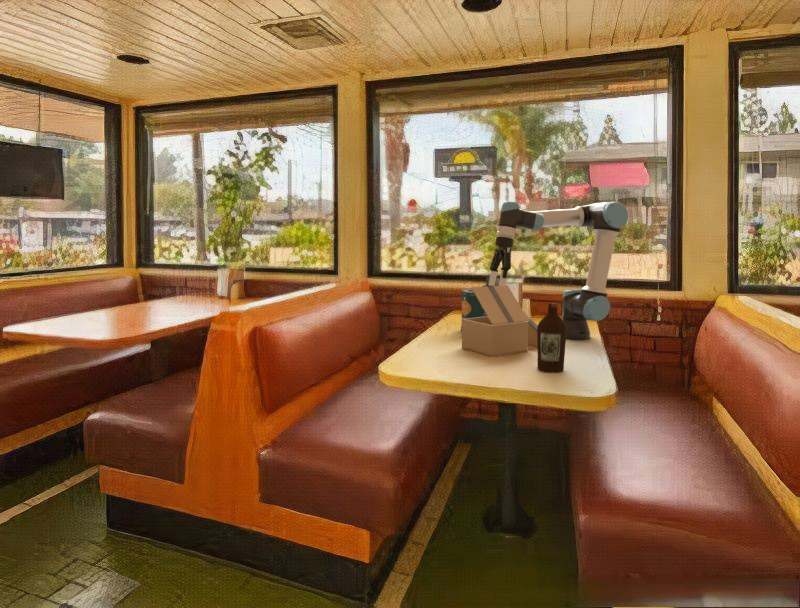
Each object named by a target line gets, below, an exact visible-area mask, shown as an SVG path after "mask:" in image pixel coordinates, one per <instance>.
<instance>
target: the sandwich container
mask: <svg viewBox="0 0 800 608" xmlns="http://www.w3.org/2000/svg"><path fill="white" fill-rule="evenodd" d="M523 312H524V313H525V315H526V317H527V318H528V347H529V346H535V347H534V348H537V327H538V324H537V323H535V321H534V320H533V319H532V318H531V316H529V315H528V314H527V313H526V311H524V310H523Z"/></svg>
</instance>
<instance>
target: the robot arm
mask: <svg viewBox="0 0 800 608" xmlns="http://www.w3.org/2000/svg"><path fill="white" fill-rule="evenodd" d="M520 206H521V204H520V203H518V202H516V201H510V200H509V201H508V200H507V201H503V203H502V206H501V208H500V215H499V221H498V227H497V228H496V231H497V232H496V236H497V237H495V243H494V244H495V246H496V247H498V248H495V250H494V254H493V257H492V260H491V263H490V266H489V270H490V275H489V276H490V279H489V285H490V286H495V282H496V277H497V275H498V272H499V270H498V269H499V266H500V265H501V266H502V267H501V268H500V276H499V278H500V281H499V286H506V285H507V279H508V273H509V271H510V270H511V268H512V267H511V266H512V259H511V258H512V248H513V246H514V238H515V236H516V230H531V231H540V230H541V229H542V228H547V227H548V228H549V227H551V228H552V227H564V226H565V227H567V226H575V227H577V228H579V227H584V228H593V229H592V231H593V233H594V234H595V237H594V241H593V242H594V243H593V246H592V253H591V256H590V261H589V266H588V267H589V268H588V271H587V277H586V282H585V286H583V287H582V288H581V289H566V290H564V291H563V293H562V307H561V308H562V311H561V312H562V314H561V315H562V316H561V319H562V320H563V321H564V322H565V324H566V327H567V335H566V340H568V339H569V340H588V339H590V338H591V330H590V327H589V324H588V321H593V322H599V321H602V320H603V319H605V318H606V317H607V316H608V315H609V313H610V310H611V303H610V301H609V299H608V294H609V293H608V291H607V290H606V287H607V283H608V282H607V281H608V278H609V277H608V276H609V271H610V267H611V262H612V261H611V260H612V256H613V251H614V246H615V240H616V237H617V236H620V234H621V231H622V230H621V228H623V227H624V226H626V224H627V223H628V220H629V211H628V209H627V207H626V206H625V205H624V204H623V203H621V202H619V201H606V202H595V203H591V204H586V205H580V206H579V205H578V206H576V207H575V208H567V209H551V210H550V209H549V210H535V211H532V210H530V211H529V210H525V209H522V208H520Z"/></svg>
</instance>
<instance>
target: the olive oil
mask: <svg viewBox="0 0 800 608" xmlns="http://www.w3.org/2000/svg"><path fill="white" fill-rule="evenodd" d="M547 305H548V306H547V313H546V315H544V317H542V318H541V320H539V322H538V324H537V325H538V327H537V347H536V348H537V350H536V351H537V370H538V371H539V372H543V371H544V372H543V373H548V372H558V373H563V371H564V369H565V355H566V344H567V338H566V335H567V327H566V324H565V322H564V321H563V320H562V317H561V316H559V314H558V303H556V302H549V303H548V304H547Z"/></svg>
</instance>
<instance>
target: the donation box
mask: <svg viewBox="0 0 800 608" xmlns="http://www.w3.org/2000/svg"><path fill="white" fill-rule="evenodd" d="M489 279H490V275H486V284H484V285H481V287H485V286H490V285H489ZM499 281H500V277H497V276H496V282H495V286H499ZM460 292H461V295H460V296H461V320H462V319H467V318H477V317H487V314H486V312H485V311H484V309H483V307H482V305H481V304H480V302H479V300H478V298H477V296H476V295H475V293H474V291H473V289H472V288H471V289H464V290H463V289H462V290H461V291H460ZM460 331H461V332H462V325H461V326H460Z"/></svg>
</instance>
